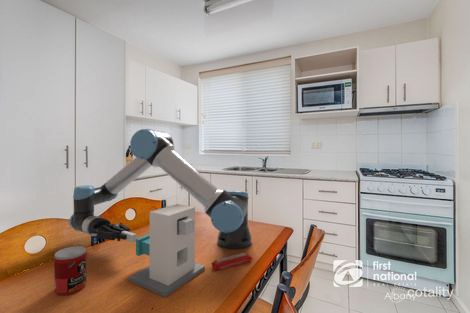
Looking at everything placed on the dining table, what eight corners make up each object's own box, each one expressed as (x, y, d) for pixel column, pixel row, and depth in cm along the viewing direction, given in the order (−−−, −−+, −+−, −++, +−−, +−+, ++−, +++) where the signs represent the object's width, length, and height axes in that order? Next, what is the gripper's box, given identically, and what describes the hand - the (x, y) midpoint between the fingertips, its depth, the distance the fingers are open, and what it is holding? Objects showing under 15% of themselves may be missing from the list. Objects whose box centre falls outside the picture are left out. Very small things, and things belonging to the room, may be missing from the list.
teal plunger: (135, 255, 82) (135, 238, 81) (149, 249, 87) (149, 233, 86) (164, 265, 75) (164, 247, 75) (176, 258, 80) (177, 241, 80)
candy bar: (214, 272, 80) (214, 264, 80) (209, 268, 83) (210, 259, 83) (253, 262, 88) (253, 254, 88) (248, 258, 91) (248, 250, 91)
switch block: (128, 280, 74) (128, 211, 73) (170, 258, 90) (170, 200, 89) (165, 297, 66) (165, 219, 65) (204, 269, 82) (205, 206, 81)
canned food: (71, 297, 65) (70, 258, 65) (47, 294, 67) (46, 255, 67) (92, 282, 73) (92, 247, 73) (71, 279, 75) (70, 244, 74)
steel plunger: (152, 230, 77) (152, 213, 77) (165, 225, 82) (165, 209, 82) (183, 238, 71) (184, 220, 70) (195, 233, 75) (196, 215, 75)
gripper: (111, 230, 104) (148, 242, 92) (80, 240, 92) (117, 255, 81) (111, 213, 103) (149, 223, 92) (80, 221, 92) (117, 233, 80)
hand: (134, 238), depth 86 cm, fingers closed
